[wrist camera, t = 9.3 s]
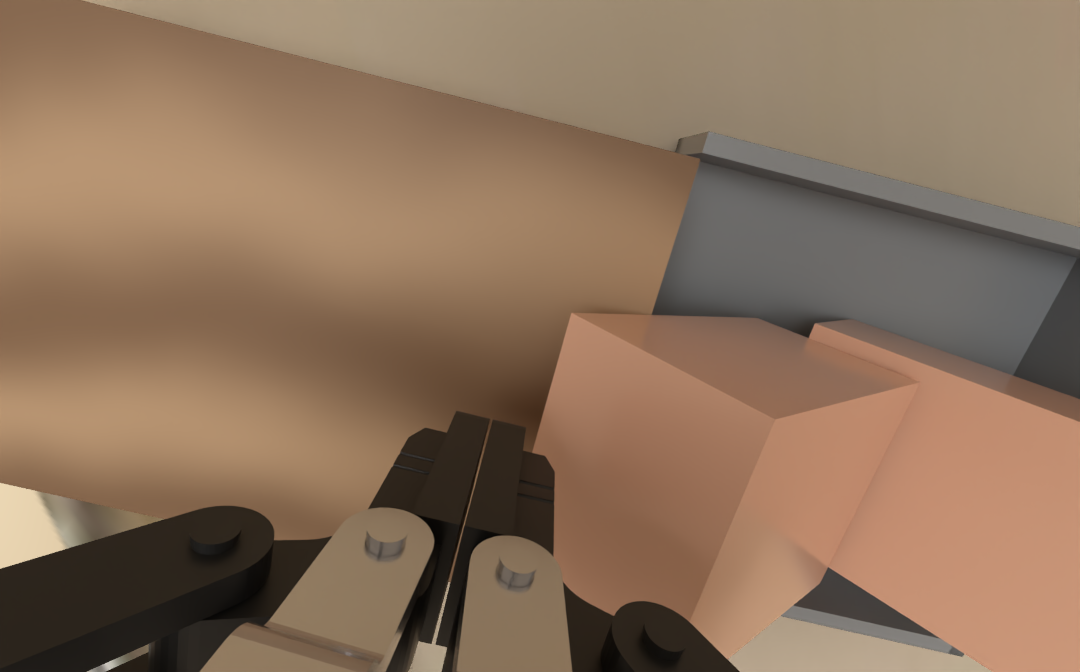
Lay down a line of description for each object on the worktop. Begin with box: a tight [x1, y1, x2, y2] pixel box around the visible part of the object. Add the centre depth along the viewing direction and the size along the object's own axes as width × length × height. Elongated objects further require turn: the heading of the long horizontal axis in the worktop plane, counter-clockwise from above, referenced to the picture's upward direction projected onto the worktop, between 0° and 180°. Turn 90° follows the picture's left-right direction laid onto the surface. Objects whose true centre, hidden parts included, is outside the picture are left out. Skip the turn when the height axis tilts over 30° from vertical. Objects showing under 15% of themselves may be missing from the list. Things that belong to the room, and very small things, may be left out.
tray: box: [652, 132, 1080, 657], centre depth 20 cm, size 16×16×4 cm
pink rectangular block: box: [532, 313, 920, 659], centre depth 14 cm, size 7×9×5 cm
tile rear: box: [809, 319, 1080, 672], centre depth 17 cm, size 7×9×5 cm
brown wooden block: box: [0, 0, 700, 582], centre depth 18 cm, size 14×20×7 cm
